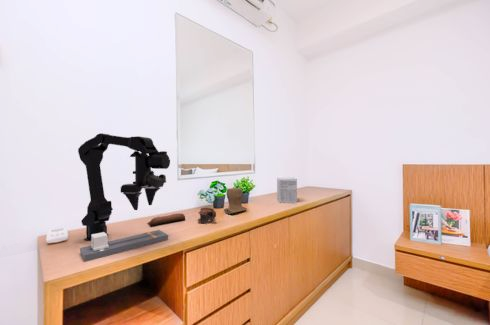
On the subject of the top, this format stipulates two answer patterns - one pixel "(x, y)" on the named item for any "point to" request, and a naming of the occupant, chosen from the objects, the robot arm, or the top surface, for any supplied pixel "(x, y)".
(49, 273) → the top surface
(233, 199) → the brown rounded stand
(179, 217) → the sunglasses case
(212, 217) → the pottery mug
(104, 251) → the fader track
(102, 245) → the fader knob
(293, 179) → the supplement box
